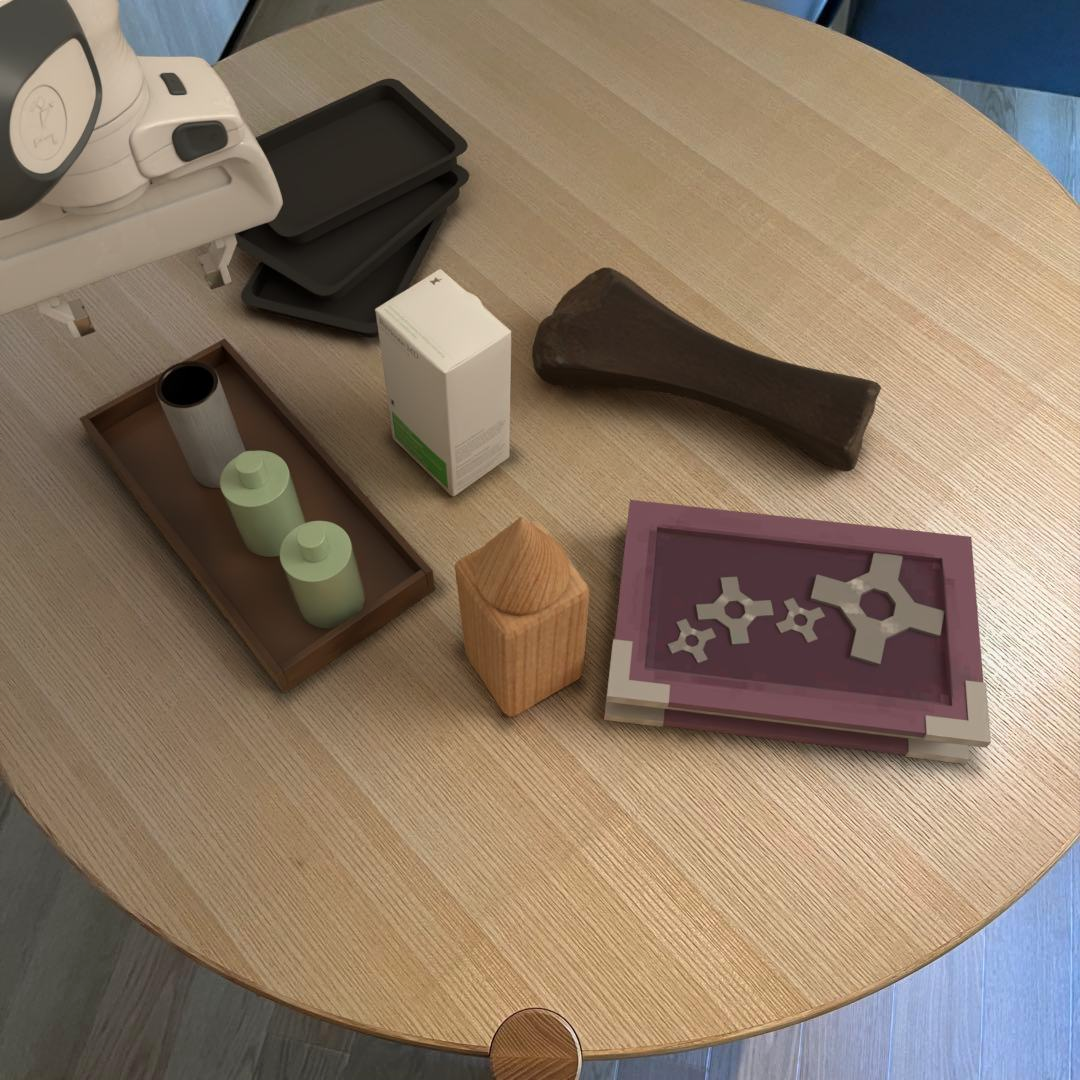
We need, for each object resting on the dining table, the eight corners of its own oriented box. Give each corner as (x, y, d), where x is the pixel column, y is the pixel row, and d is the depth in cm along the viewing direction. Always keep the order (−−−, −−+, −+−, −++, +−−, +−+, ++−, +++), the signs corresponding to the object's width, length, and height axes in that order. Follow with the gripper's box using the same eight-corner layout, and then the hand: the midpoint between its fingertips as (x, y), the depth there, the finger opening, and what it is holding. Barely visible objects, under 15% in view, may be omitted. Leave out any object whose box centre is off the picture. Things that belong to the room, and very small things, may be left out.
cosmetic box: (391, 439, 93) (366, 306, 80) (453, 398, 96) (439, 262, 83) (455, 501, 90) (440, 374, 77) (517, 457, 92) (513, 326, 79)
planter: (220, 498, 89) (185, 417, 80) (180, 470, 91) (142, 387, 82) (260, 461, 91) (231, 378, 82) (221, 434, 92) (188, 350, 84)
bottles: (322, 641, 82) (299, 579, 75) (229, 526, 88) (199, 457, 80) (378, 603, 84) (361, 539, 76) (283, 492, 89) (259, 422, 82)
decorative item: (508, 723, 80) (500, 583, 63) (461, 652, 83) (442, 500, 66) (586, 678, 82) (598, 530, 65) (538, 610, 85) (538, 452, 68)
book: (603, 724, 80) (607, 695, 76) (624, 534, 88) (628, 498, 84) (966, 769, 78) (990, 742, 74) (952, 570, 87) (973, 536, 82)
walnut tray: (284, 693, 81) (276, 676, 79) (91, 440, 93) (78, 418, 91) (435, 589, 86) (432, 569, 83) (232, 361, 98) (224, 337, 95)
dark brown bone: (530, 383, 99) (829, 504, 96) (517, 357, 89) (852, 492, 86) (578, 270, 99) (878, 388, 97) (570, 230, 89) (907, 361, 86)
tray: (436, 353, 98) (431, 311, 94) (178, 327, 100) (161, 285, 96) (488, 131, 114) (486, 86, 110) (265, 112, 116) (254, 67, 111)
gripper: (-96, 227, 60) (8, 394, 71) (267, 109, 65) (308, 283, 77) (-120, 157, 63) (-16, 328, 74) (229, 50, 68) (275, 226, 79)
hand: (151, 304), depth 75 cm, fingers open, 8 cm apart
